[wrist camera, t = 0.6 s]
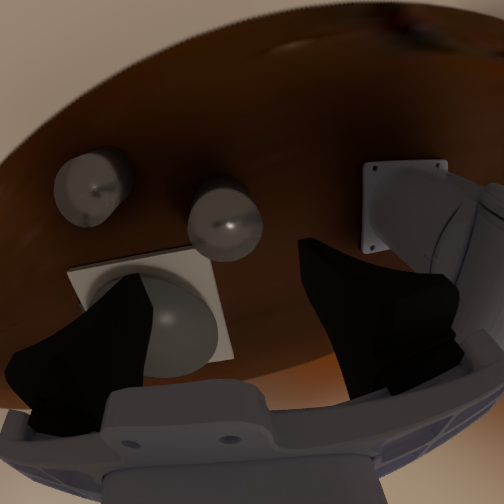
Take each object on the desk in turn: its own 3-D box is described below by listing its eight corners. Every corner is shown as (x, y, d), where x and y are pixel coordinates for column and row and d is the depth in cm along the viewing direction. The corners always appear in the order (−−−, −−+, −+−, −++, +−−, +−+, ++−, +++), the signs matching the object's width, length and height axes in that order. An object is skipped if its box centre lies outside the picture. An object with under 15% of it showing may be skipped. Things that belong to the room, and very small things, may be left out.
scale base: (206, 242, 22) (206, 246, 21) (233, 353, 28) (234, 358, 27) (66, 269, 21) (63, 273, 20) (118, 365, 27) (117, 370, 26)
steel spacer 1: (128, 139, 17) (105, 147, 13) (141, 197, 19) (124, 219, 15) (76, 156, 17) (46, 168, 13) (90, 210, 19) (66, 233, 15)
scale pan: (201, 257, 21) (200, 266, 20) (228, 360, 26) (229, 370, 25) (58, 282, 20) (52, 291, 19) (109, 371, 26) (107, 380, 24)
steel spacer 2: (248, 171, 20) (257, 186, 16) (256, 227, 22) (266, 255, 18) (187, 182, 19) (180, 200, 15) (199, 237, 22) (196, 267, 18)
